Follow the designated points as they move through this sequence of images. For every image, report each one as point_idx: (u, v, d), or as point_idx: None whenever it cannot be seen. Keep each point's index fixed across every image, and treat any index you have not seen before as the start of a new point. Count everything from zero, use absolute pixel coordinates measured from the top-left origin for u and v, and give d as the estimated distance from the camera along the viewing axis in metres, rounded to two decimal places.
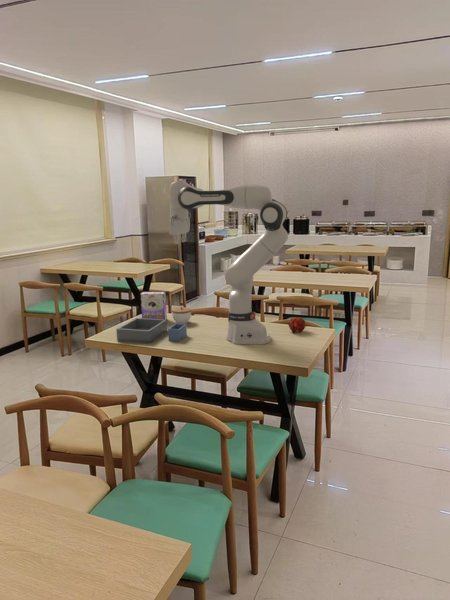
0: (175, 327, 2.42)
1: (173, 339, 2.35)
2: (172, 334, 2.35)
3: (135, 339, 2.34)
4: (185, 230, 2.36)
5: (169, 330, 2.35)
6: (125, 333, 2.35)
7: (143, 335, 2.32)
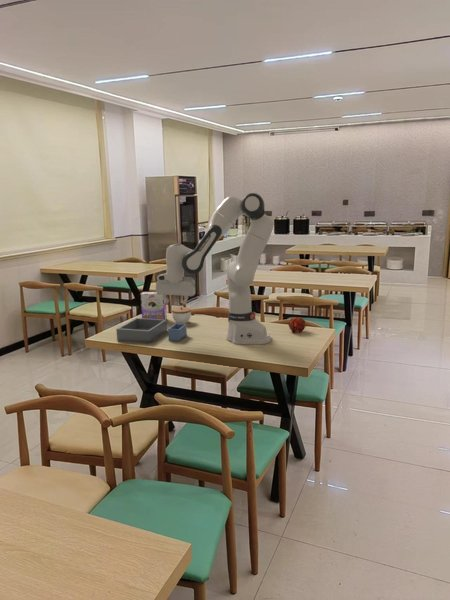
0: (175, 327, 2.42)
1: (173, 339, 2.35)
2: (172, 334, 2.35)
3: (135, 339, 2.34)
4: None
5: (169, 330, 2.35)
6: (125, 333, 2.35)
7: (143, 335, 2.32)
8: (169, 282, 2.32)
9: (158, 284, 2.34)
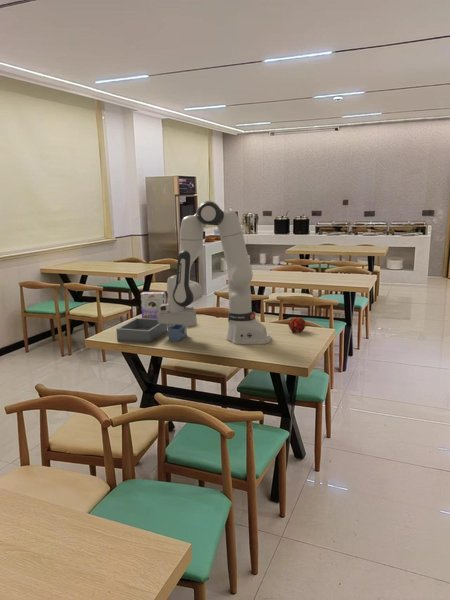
0: (175, 327, 2.42)
1: (173, 339, 2.35)
2: (172, 334, 2.35)
3: (135, 339, 2.34)
4: None
5: (169, 330, 2.35)
6: (125, 333, 2.35)
7: (143, 335, 2.32)
8: (170, 312, 2.35)
9: (160, 314, 2.37)
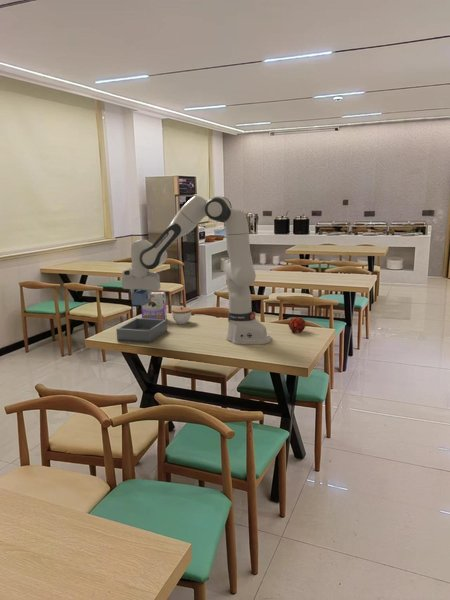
0: (139, 293, 2.44)
1: (136, 303, 2.36)
2: (135, 298, 2.36)
3: (135, 339, 2.34)
4: None
5: (132, 294, 2.36)
6: (125, 333, 2.35)
7: (143, 335, 2.32)
8: (134, 277, 2.36)
9: (124, 279, 2.38)
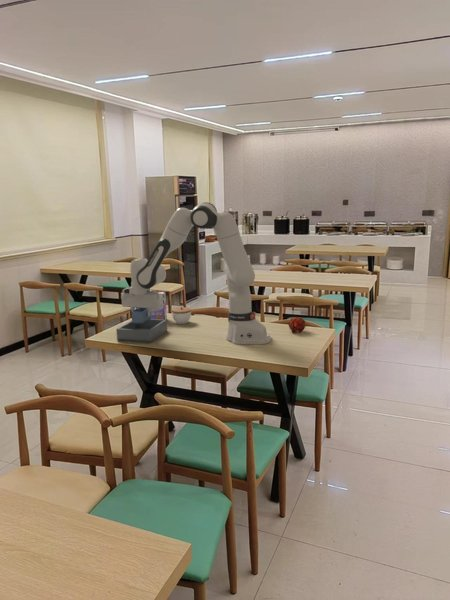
0: (139, 310, 2.46)
1: (136, 321, 2.38)
2: (135, 316, 2.38)
3: (135, 339, 2.34)
4: None
5: (132, 313, 2.38)
6: (125, 333, 2.35)
7: (143, 335, 2.32)
8: (134, 295, 2.39)
9: (124, 297, 2.41)
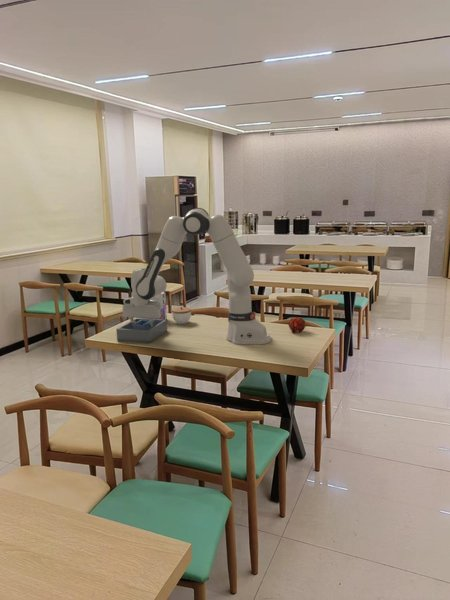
0: (141, 323, 2.48)
1: None
2: None
3: (135, 339, 2.34)
4: None
5: (134, 326, 2.40)
6: (125, 333, 2.35)
7: (143, 335, 2.32)
8: (135, 306, 2.40)
9: (125, 308, 2.42)
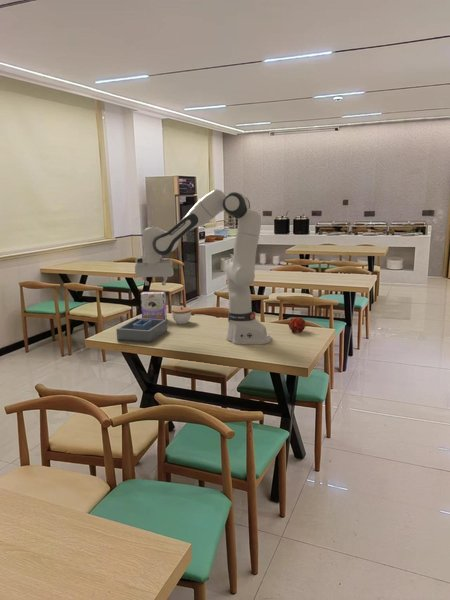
0: (141, 323, 2.48)
1: None
2: None
3: (135, 339, 2.34)
4: None
5: (134, 326, 2.40)
6: (125, 333, 2.35)
7: (143, 335, 2.32)
8: (147, 264, 2.38)
9: (137, 267, 2.40)
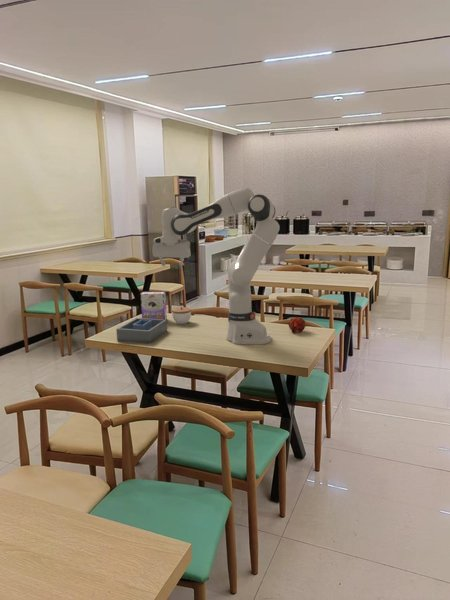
0: (141, 323, 2.48)
1: None
2: None
3: (135, 339, 2.34)
4: None
5: (134, 326, 2.40)
6: (125, 333, 2.35)
7: (143, 335, 2.32)
8: (165, 245, 2.41)
9: (155, 247, 2.43)
